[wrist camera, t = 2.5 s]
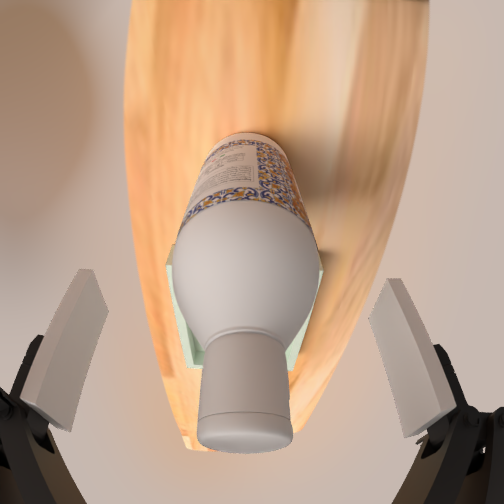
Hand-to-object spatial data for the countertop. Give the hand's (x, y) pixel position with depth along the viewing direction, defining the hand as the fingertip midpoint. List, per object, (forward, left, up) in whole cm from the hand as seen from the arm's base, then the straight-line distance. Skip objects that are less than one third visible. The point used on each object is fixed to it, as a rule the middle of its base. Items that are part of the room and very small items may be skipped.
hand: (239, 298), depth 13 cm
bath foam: (0, 0, -14) cm, 14 cm away
